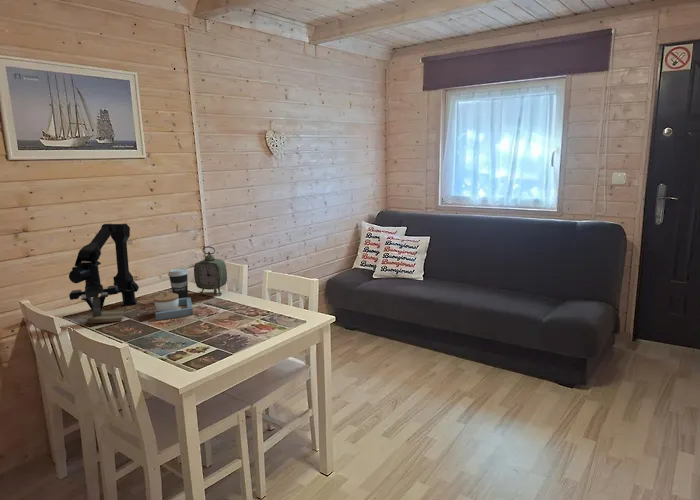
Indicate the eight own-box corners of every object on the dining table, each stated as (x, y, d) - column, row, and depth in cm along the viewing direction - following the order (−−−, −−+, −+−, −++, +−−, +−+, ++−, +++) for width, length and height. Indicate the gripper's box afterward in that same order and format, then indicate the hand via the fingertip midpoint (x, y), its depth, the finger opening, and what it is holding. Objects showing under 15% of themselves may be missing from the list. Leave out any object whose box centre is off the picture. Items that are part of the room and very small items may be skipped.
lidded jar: (184, 309, 222) (182, 289, 220) (171, 317, 212) (169, 297, 210) (164, 308, 224) (161, 289, 222) (150, 316, 214) (147, 296, 212)
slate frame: (157, 307, 225) (156, 301, 225) (191, 302, 231) (190, 297, 230) (156, 320, 208) (155, 313, 207) (193, 314, 213) (192, 308, 213)
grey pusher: (94, 314, 215) (93, 294, 213) (123, 312, 219) (122, 292, 217) (90, 323, 204) (89, 302, 202) (121, 320, 208) (120, 300, 206)
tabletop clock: (196, 295, 242) (191, 247, 237) (205, 290, 251) (200, 244, 246) (221, 296, 239) (217, 248, 234) (230, 291, 248) (226, 244, 242)
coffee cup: (166, 301, 235) (163, 271, 232) (178, 295, 244) (175, 267, 241) (183, 302, 232) (179, 272, 229) (194, 296, 241) (191, 267, 238)
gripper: (64, 284, 196) (70, 320, 199) (113, 278, 202) (118, 313, 205) (69, 277, 206) (75, 311, 209) (116, 272, 212) (121, 305, 216)
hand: (97, 310), depth 210 cm, fingers closed on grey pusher, 3 cm apart
